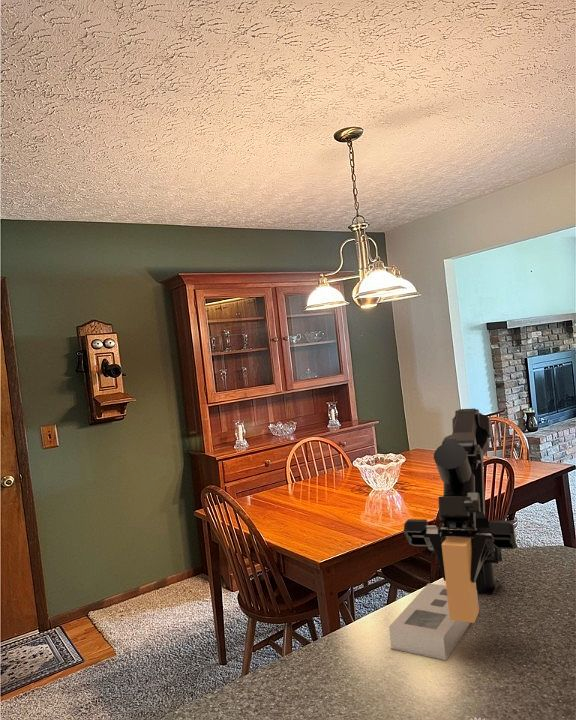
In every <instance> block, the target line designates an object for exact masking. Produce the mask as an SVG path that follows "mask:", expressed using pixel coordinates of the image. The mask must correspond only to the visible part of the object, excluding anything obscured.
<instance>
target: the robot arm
mask: <svg viewBox="0 0 576 720" xmlns="http://www.w3.org/2000/svg"><path fill="white" fill-rule="evenodd" d="M479 410H480V409H478V408H477V409H476V408H459V409H458V410H455V412H454V413H455V414H454V417H453V418H452V419H451V420H452V433H451V434H449V435H446V436H445V437H444V438H443V440H442V442H441V445H439V446H438V447H437V448H436V449H435V451H434V453H433V460H434V463H435V466H436V468H437V472H438V475H439V477H440V480H441V481H442V482H443V495H442V496H438V499H437V500H438V515H439V516H438V517H439V523H440V524H442V526H438V525H432V524H431V525H429V523H428V520H427V519H424V518H422V519H420V518H417V519H416V518H415V519H413V518H411V519H410V518H409V519H408V518H407V520H406V521H404V524H403V534H404V535H405V538H406V540H407V542H408V544H409V546H412V547H426V548H427V549H428V550H429V551H432V552H434V553H435V555H436V558H437V562H438V565H439V569H440V572H441V575H442V579H443V581H444V582H446V580H445V571H444V562H443V553H442V543H443V542H444V539H446V538H447V537H463V538H471V545H472V554H473V560H472V569H471V576H472V582H473V583H475V581H476V590H477V594H485V595H491V596H492V595H494V594H495V592H496V591H497V590H498V588H499V586H501V585H500V584H501V581H500V580H496V579H495V571H494V569H495V568H494V564H496V565H498V564H499V562H502V561H503V553H502V550H515V549H517V536H516V535H517V534H516V532H515V531H516V530H515V525H514V523H513V522H512V520H499V519H498V520H496V519H495V520H494V519H493V520H492V519H491V520H489V519H488V518H487V516H486V504H485V500H486V497H485V477H484V476H485V475H484V474H485V473H484V472H485V471H484V456H485V455H486V453H487V452H488V450H489V449H490V447H491V446H490V445H491V444H490V439H492V438H493V429H492V427H493V426H492V423H491V420H490V417H489V416H487V415H484V414H483V413H481V412H480V411H479Z"/></svg>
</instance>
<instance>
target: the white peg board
mask: <svg viewBox="0 0 576 720" xmlns="http://www.w3.org/2000/svg"><path fill="white" fill-rule="evenodd" d="M478 597H479V595H477V599H479V598H478ZM478 608H479V609H480V607H479V604H478ZM470 625H471V623H469V622H462V621H455V620H450V615H449V606H448V598H447V589H446V585H443V584H436V583H427V584H426V585H425V587H423V589H422V590H421V591H420V592H419V593H418V594H417V595H416V596H415V598H414V599H412V601H410V603H409V604H408V605H407V606H406V608H405V609H404V610H402V612H401V613H400V614H399V615H398V616H397V617H396V619H394V621H392V623H391V624H390V625H389V626H388V629H389V630H388V631H389V639H390V647H391V649H392V650H395V651H400V652H405V653H410V654H414V655H419V656H423V657H427V658H432V659H438V660H443V661H447V659H448V658H449V657H448V656H450V655H451V653H452V652H453V650H455V647H456V646H457V644H458V643H459V642H460V639H461V638H462V637H463V635H465V632H466V631H467V629H468V628H469V626H470Z"/></svg>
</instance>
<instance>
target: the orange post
mask: <svg viewBox="0 0 576 720" xmlns="http://www.w3.org/2000/svg"><path fill="white" fill-rule="evenodd" d="M442 542H443V543H442V553H443V562H444V571H445V580H446V581H445V586H446V589H447V598H448V606H449V615H450V620H455V621H462V622H469V623H470V624H471V623H472V624H475V622H476V619H477V618H478V615H479V613H480V607H479V608H478V605H479V600H478V599H479V598H478V599H477V596H478V593H477V590H476V581H475V583H473V582H472V576H471V569H472V560H473V554H472V545H471V538H463V537H447V538H444V540H443V541H442Z"/></svg>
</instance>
